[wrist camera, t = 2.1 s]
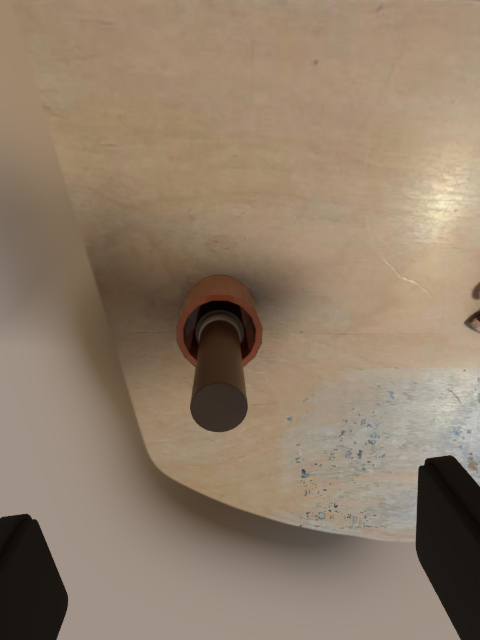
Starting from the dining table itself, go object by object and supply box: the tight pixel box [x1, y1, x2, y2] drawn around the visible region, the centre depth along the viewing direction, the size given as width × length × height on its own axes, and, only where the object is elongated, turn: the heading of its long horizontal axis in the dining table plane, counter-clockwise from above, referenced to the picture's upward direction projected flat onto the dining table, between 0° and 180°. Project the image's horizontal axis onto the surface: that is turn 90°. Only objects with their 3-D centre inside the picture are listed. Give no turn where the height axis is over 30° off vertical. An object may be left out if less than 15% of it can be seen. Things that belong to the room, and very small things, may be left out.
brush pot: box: [177, 275, 262, 367], centre depth 30 cm, size 6×6×6 cm
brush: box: [190, 301, 248, 432], centre depth 26 cm, size 4×4×15 cm
